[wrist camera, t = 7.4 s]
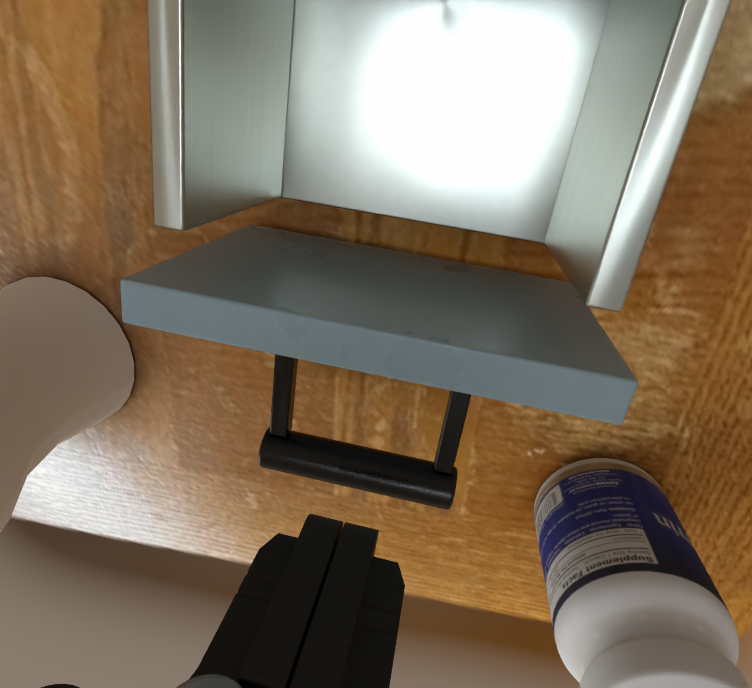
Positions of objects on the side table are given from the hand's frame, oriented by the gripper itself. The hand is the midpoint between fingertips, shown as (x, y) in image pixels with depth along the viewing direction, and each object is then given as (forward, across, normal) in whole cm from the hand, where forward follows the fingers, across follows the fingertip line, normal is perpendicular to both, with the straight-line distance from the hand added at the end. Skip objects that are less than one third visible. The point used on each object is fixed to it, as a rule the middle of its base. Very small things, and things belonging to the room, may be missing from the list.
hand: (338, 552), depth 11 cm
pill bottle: (+13, -10, +6) cm, 17 cm away
